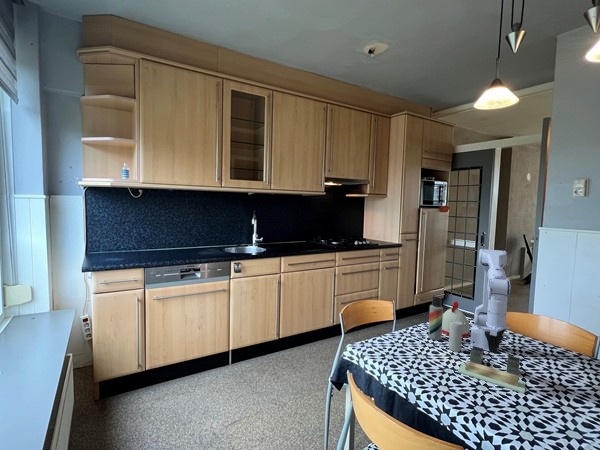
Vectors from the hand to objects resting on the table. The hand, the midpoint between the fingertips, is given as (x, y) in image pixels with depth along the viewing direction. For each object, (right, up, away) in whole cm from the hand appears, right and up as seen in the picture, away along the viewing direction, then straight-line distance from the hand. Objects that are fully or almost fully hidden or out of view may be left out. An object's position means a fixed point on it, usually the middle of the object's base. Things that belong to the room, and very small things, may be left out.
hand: (494, 349), depth 111 cm
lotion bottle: (-7, -9, +33) cm, 35 cm away
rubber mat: (-1, -10, 0) cm, 10 cm away
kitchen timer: (+6, -9, +42) cm, 43 cm away
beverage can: (-3, -9, +22) cm, 24 cm away
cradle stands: (+5, -10, +8) cm, 13 cm away
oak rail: (-1, -10, 0) cm, 10 cm away
